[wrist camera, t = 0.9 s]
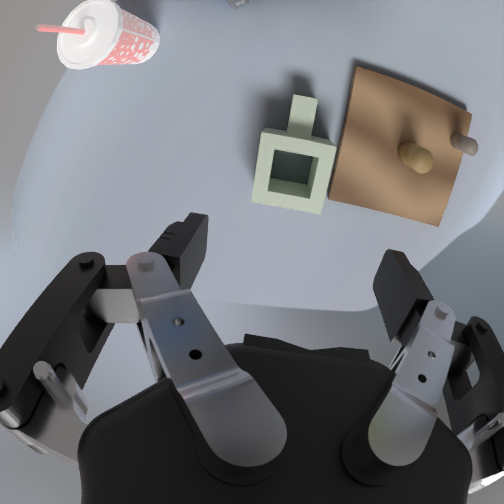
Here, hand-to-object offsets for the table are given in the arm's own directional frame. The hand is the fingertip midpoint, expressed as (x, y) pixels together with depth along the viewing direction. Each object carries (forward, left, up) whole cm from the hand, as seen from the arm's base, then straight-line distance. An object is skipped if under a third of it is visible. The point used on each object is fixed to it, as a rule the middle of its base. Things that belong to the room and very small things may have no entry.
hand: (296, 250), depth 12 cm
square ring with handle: (-2, 0, -16) cm, 16 cm away
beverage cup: (-11, -16, -16) cm, 26 cm away
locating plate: (-4, +11, -16) cm, 19 cm away
